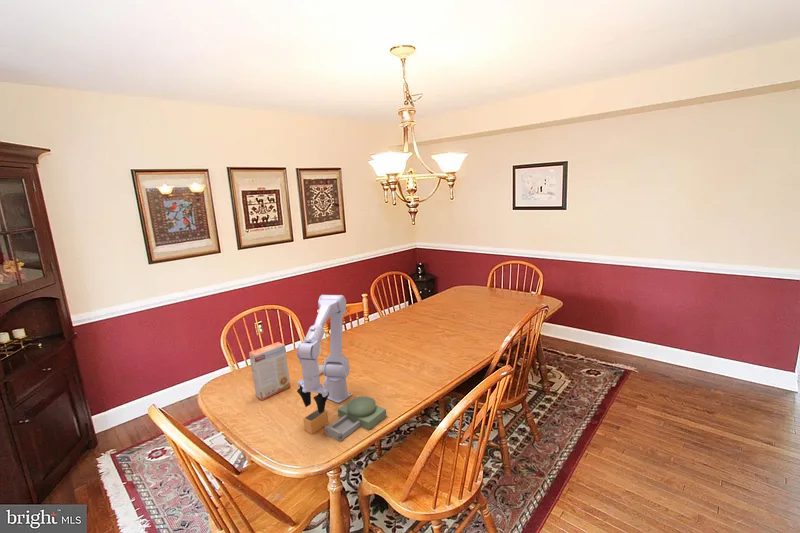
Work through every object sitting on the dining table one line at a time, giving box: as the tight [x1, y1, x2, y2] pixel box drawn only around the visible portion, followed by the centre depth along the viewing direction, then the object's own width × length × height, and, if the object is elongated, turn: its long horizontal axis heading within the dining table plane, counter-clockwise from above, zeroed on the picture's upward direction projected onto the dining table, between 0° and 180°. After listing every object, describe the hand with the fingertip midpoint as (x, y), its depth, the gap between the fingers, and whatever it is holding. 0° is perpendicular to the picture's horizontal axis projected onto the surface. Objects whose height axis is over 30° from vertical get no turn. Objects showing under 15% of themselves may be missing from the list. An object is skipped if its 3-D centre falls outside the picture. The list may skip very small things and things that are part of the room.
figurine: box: [318, 343, 324, 375], centre depth 181 cm, size 7×9×15 cm
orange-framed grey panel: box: [303, 409, 329, 435], centre depth 142 cm, size 4×8×5 cm, turn 142°
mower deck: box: [324, 396, 387, 442], centre depth 143 cm, size 16×21×5 cm
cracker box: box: [248, 341, 291, 401], centre depth 166 cm, size 14×6×21 cm, turn 135°
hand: (314, 408), depth 141 cm, fingers open, 7 cm apart
